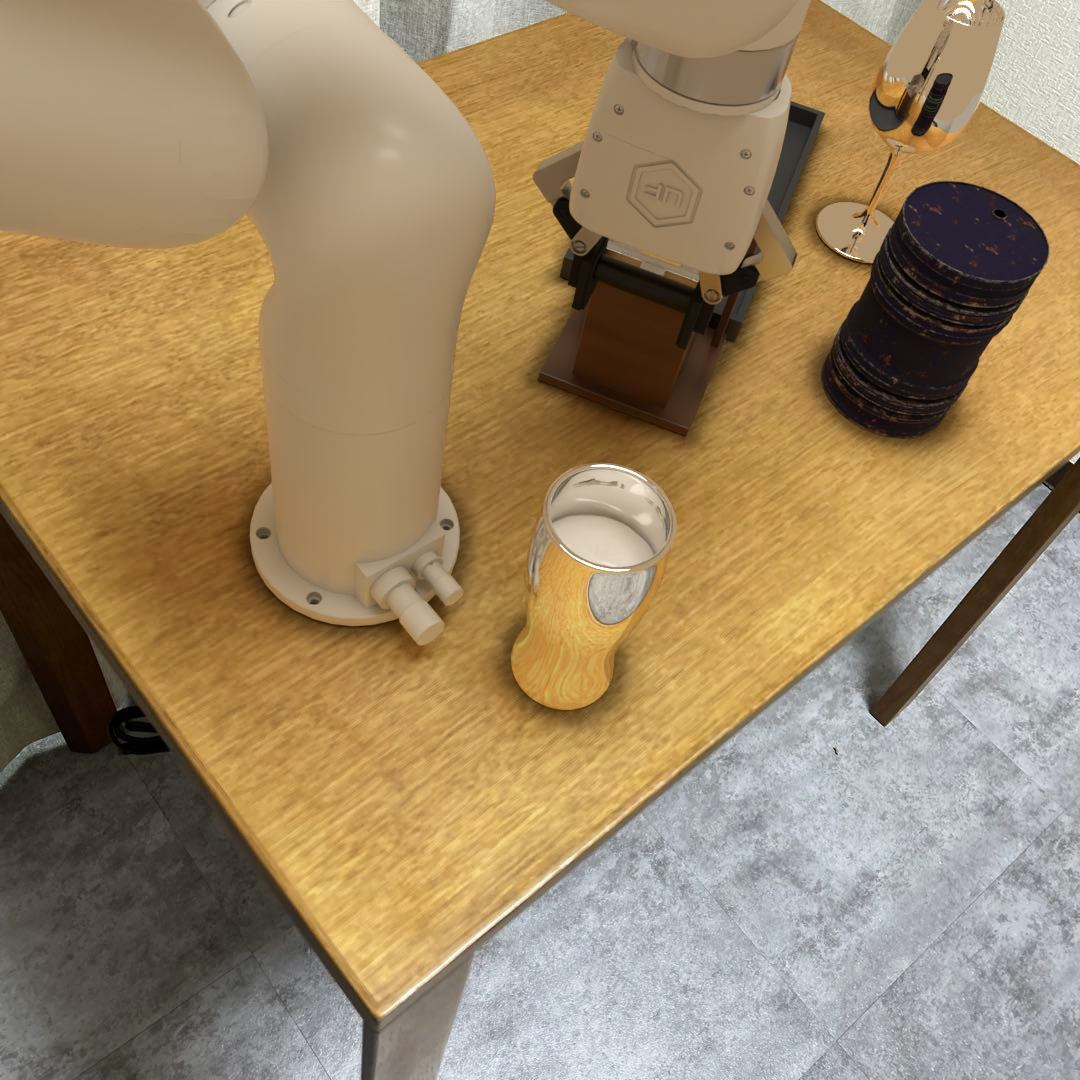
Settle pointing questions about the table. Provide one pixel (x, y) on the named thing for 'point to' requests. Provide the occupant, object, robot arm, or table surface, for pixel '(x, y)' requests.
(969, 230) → the dark purple cylinder
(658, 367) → the stand
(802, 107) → the tray
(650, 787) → the table surface
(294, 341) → the robot arm
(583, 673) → the beer glass
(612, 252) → the translucent box
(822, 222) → the wineglass
